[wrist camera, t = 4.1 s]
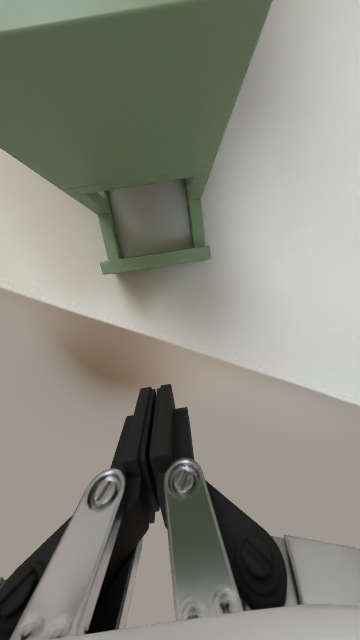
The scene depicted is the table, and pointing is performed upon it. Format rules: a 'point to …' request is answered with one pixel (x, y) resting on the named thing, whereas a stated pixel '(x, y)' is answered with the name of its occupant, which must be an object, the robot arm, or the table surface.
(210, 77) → the chair
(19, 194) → the table surface
